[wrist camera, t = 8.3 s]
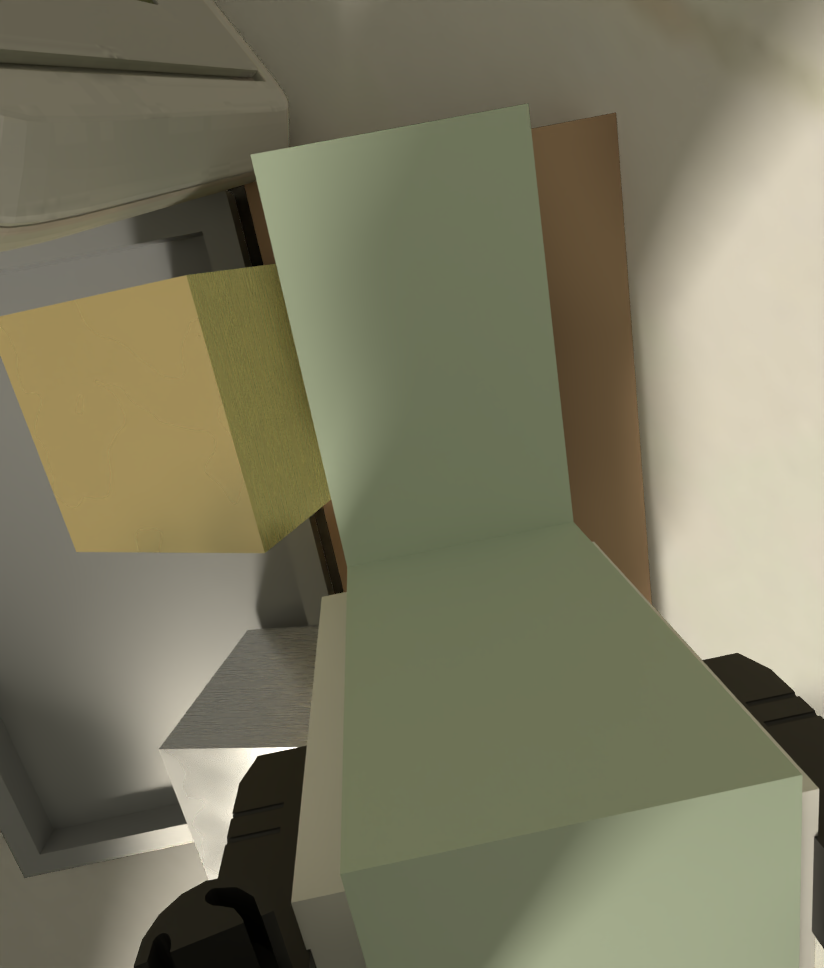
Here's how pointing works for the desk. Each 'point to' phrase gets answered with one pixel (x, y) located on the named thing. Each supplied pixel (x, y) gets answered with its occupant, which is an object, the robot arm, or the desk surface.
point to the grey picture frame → (124, 112)
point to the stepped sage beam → (502, 600)
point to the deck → (578, 336)
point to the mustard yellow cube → (170, 414)
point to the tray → (115, 590)
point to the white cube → (239, 729)
